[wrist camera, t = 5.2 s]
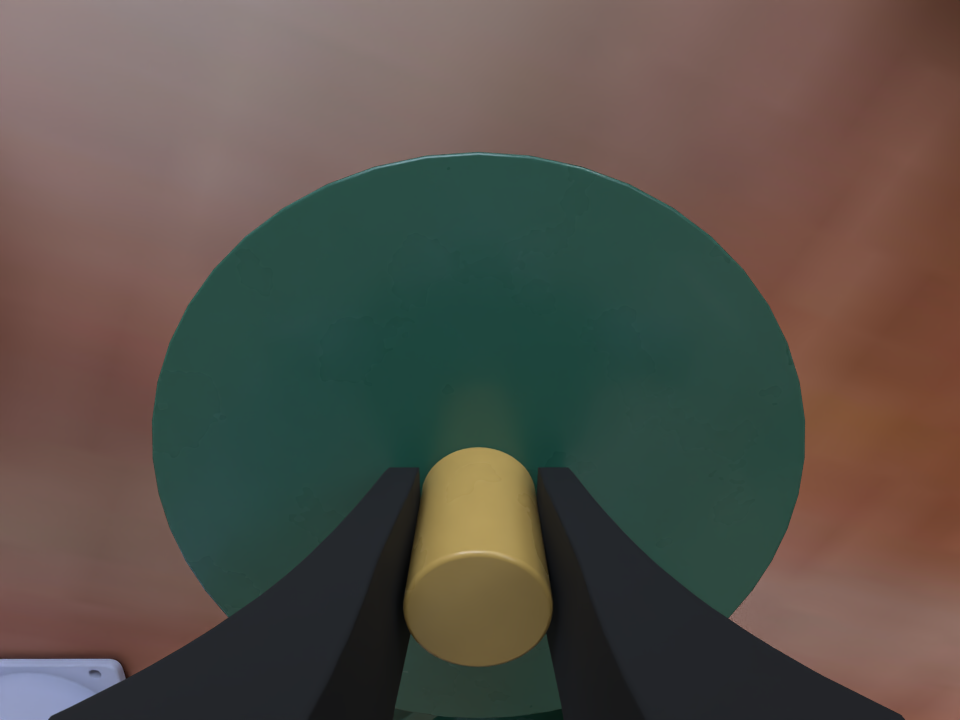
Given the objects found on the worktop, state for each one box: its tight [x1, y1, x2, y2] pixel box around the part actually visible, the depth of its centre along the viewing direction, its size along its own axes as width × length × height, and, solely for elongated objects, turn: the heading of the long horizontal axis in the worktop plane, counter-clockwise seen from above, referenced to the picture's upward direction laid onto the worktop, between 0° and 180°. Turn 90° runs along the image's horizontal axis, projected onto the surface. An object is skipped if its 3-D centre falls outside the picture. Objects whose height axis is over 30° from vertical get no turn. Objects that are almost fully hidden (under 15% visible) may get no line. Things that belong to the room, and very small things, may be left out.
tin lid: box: [152, 152, 805, 718], centre depth 11 cm, size 14×14×4 cm
